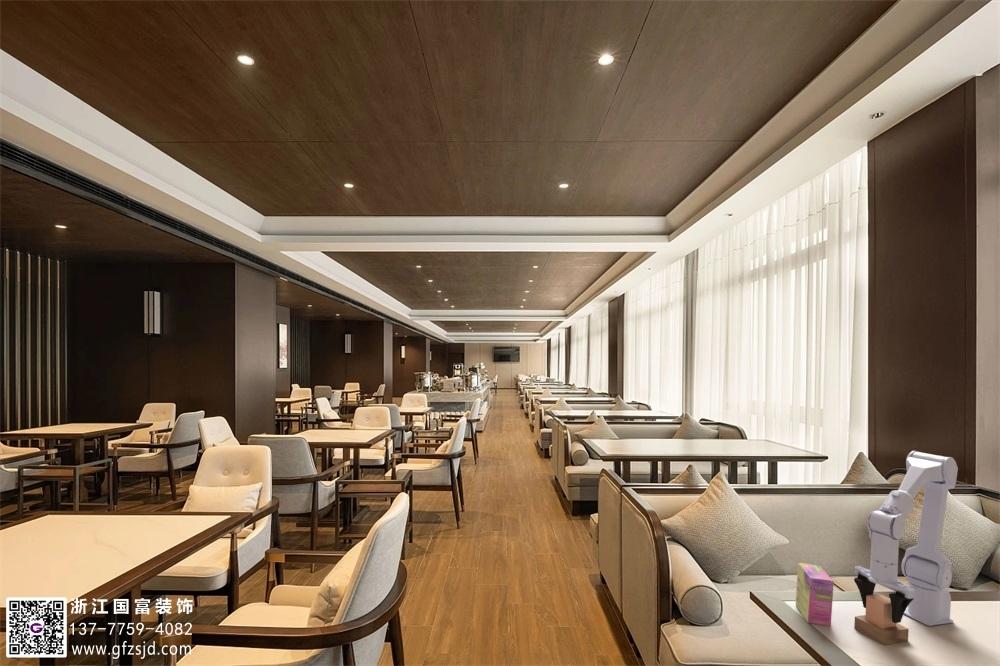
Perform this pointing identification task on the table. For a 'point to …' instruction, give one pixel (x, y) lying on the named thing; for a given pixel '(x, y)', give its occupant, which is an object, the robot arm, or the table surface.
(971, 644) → the table surface
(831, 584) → the box
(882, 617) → the peach cube
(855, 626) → the walnut slab
